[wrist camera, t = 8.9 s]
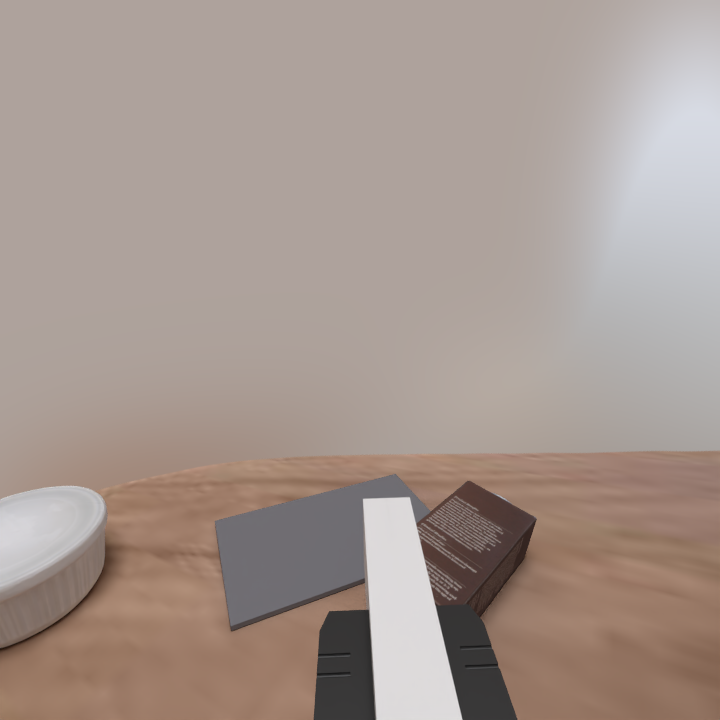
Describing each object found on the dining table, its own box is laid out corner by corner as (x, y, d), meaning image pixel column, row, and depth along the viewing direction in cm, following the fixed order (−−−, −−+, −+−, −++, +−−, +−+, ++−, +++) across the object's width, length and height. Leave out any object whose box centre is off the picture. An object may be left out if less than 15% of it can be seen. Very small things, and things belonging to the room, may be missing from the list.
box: (441, 672, 24) (527, 558, 32) (451, 619, 22) (540, 513, 30) (367, 602, 28) (461, 516, 36) (372, 553, 26) (469, 474, 34)
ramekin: (-139, 659, 25) (-172, 590, 23) (30, 531, 35) (15, 478, 34) (21, 689, 23) (-4, 617, 21) (148, 546, 34) (138, 491, 32)
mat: (395, 477, 43) (395, 473, 43) (460, 547, 33) (460, 543, 33) (215, 524, 36) (214, 521, 36) (231, 630, 26) (230, 626, 26)
